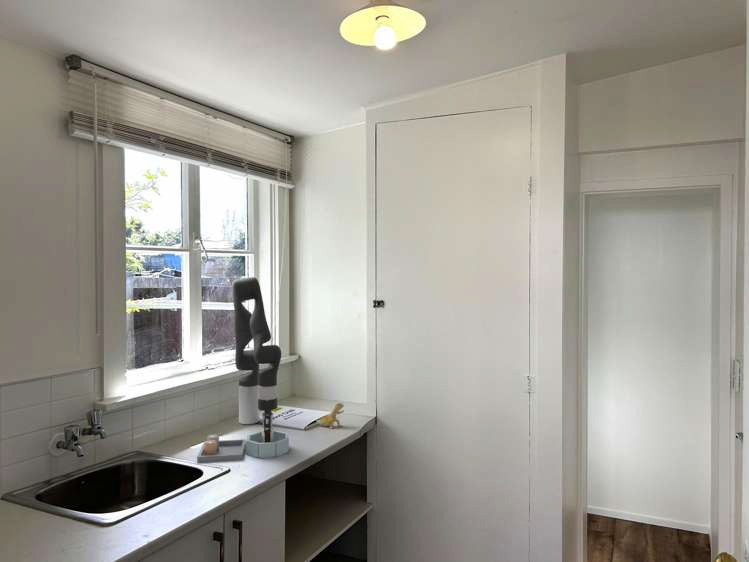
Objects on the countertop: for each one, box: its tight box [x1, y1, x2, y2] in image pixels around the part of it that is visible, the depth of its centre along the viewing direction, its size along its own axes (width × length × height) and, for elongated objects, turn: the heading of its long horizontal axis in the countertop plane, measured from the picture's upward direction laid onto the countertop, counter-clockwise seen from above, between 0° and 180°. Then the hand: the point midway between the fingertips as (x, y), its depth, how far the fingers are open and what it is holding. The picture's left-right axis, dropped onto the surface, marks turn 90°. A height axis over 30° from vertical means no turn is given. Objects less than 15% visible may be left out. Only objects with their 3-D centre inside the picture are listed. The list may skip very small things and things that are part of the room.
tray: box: [196, 438, 247, 463], centre depth 203 cm, size 18×16×2 cm
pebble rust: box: [203, 440, 217, 456], centre depth 199 cm, size 4×4×6 cm
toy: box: [316, 402, 345, 430], centre depth 238 cm, size 7×15×10 cm, turn 75°
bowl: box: [245, 429, 290, 459], centre depth 206 cm, size 16×16×6 cm
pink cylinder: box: [206, 434, 220, 451], centre depth 206 cm, size 4×4×6 cm
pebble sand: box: [261, 427, 274, 443], centre depth 206 cm, size 4×4×6 cm
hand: (267, 440), depth 206 cm, fingers closed on pebble sand, 4 cm apart
